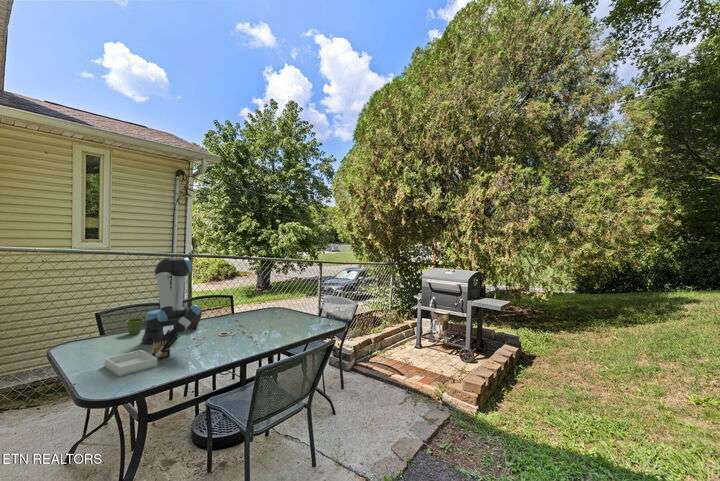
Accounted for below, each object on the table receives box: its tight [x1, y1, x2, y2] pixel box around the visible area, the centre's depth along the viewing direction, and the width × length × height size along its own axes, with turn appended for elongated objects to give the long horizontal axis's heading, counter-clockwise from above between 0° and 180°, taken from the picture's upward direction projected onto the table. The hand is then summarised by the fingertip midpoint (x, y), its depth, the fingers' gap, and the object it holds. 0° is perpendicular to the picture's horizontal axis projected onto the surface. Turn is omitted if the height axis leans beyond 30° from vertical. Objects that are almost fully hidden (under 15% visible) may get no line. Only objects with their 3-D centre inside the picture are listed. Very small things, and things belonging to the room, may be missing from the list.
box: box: [103, 349, 158, 377], centre depth 195 cm, size 22×20×5 cm
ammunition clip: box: [151, 339, 171, 361], centre depth 209 cm, size 11×2×12 cm, turn 144°
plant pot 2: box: [186, 308, 203, 330], centre depth 278 cm, size 15×15×16 cm
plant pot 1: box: [126, 317, 145, 336], centre depth 256 cm, size 12×12×11 cm
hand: (154, 354), depth 206 cm, fingers open, 4 cm apart
